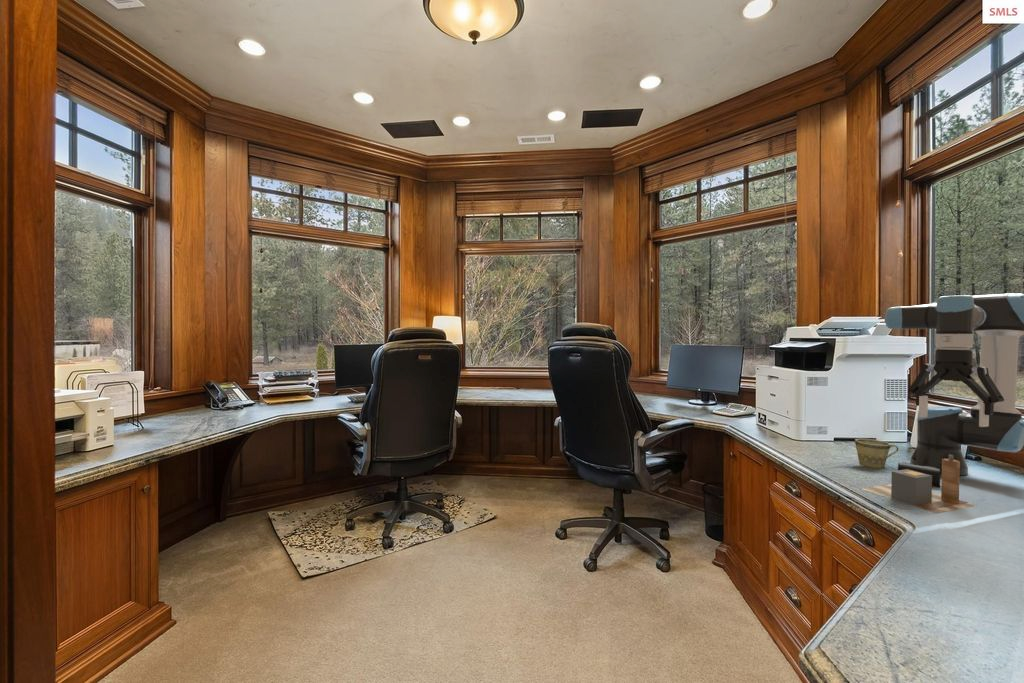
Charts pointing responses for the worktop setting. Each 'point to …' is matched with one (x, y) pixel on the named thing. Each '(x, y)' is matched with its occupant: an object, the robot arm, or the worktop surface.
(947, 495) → the wooden tool handle
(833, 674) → the worktop surface
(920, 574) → the worktop surface
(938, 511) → the birch board
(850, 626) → the worktop surface
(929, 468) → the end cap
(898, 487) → the grey box with label
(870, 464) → the ceramic cup
